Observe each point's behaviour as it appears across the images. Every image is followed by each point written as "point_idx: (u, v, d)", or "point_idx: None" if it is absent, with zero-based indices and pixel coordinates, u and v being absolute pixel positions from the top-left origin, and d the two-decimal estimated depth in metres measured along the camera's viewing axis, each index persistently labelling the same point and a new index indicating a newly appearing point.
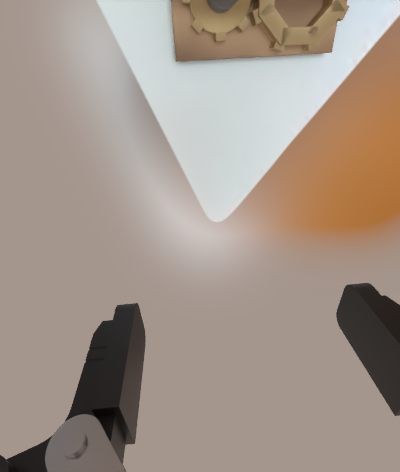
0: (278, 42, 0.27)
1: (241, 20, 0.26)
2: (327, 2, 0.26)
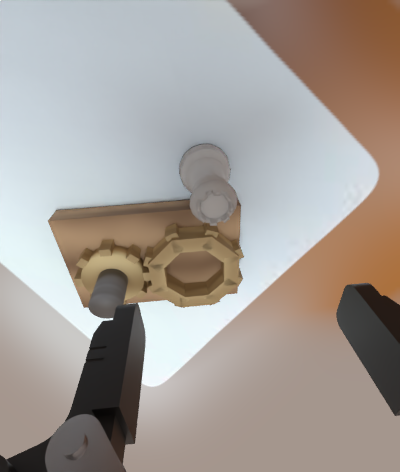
0: None
1: (138, 293, 0.27)
2: (222, 272, 0.27)
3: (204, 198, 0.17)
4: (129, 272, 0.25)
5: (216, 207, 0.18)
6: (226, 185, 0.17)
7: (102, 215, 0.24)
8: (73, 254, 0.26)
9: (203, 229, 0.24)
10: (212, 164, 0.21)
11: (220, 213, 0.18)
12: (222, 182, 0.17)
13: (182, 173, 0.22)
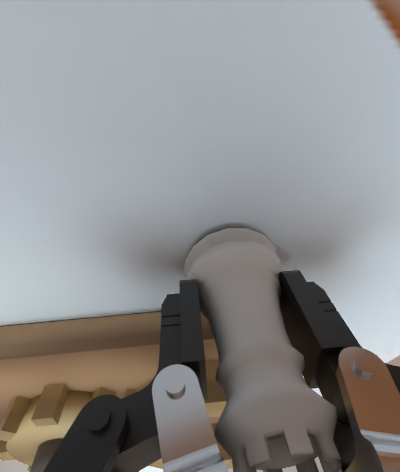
0: None
1: None
2: None
3: (262, 464, 0.06)
4: None
5: (288, 458, 0.07)
6: (318, 407, 0.06)
7: (40, 350, 0.13)
8: None
9: None
10: (256, 288, 0.10)
11: (295, 464, 0.07)
12: (308, 400, 0.06)
13: None
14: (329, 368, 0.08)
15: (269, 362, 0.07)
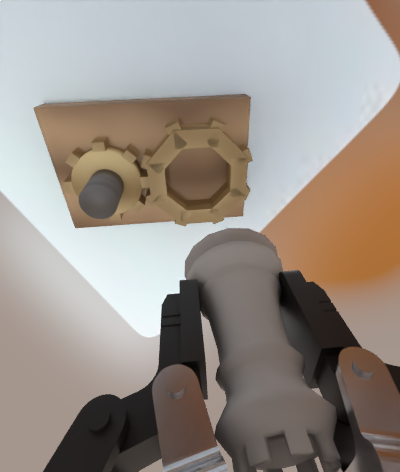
0: (178, 220, 0.25)
1: (134, 204, 0.24)
2: (228, 183, 0.25)
3: (263, 464, 0.06)
4: (125, 175, 0.23)
5: (288, 458, 0.07)
6: (318, 407, 0.06)
7: (95, 104, 0.21)
8: (63, 155, 0.23)
9: (208, 124, 0.22)
10: (256, 288, 0.10)
11: (294, 464, 0.07)
12: (308, 400, 0.06)
13: None
14: (329, 368, 0.08)
15: (269, 362, 0.07)
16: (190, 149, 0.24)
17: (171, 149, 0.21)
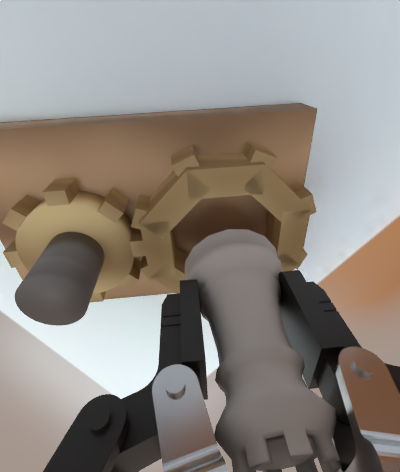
0: None
1: (123, 279, 0.15)
2: None
3: (262, 465, 0.06)
4: (106, 240, 0.14)
5: (287, 459, 0.07)
6: (318, 408, 0.06)
7: (51, 125, 0.12)
8: (4, 207, 0.14)
9: (245, 156, 0.13)
10: (256, 289, 0.10)
11: (294, 465, 0.07)
12: (307, 402, 0.06)
13: None
14: (329, 368, 0.08)
15: (269, 363, 0.07)
16: None
17: (182, 200, 0.12)
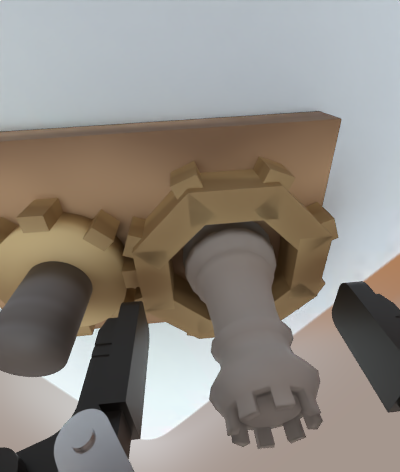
0: None
1: (114, 312, 0.13)
2: (283, 271, 0.14)
3: (251, 416, 0.07)
4: (93, 270, 0.12)
5: (275, 415, 0.07)
6: (301, 368, 0.07)
7: (27, 138, 0.10)
8: None
9: (256, 174, 0.11)
10: (249, 270, 0.10)
11: (281, 423, 0.08)
12: (292, 362, 0.07)
13: (188, 272, 0.12)
14: None
15: (259, 333, 0.08)
16: None
17: (182, 226, 0.10)
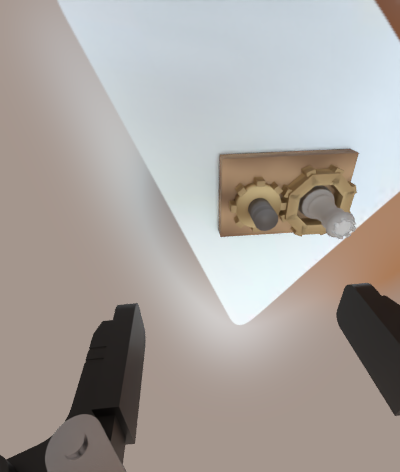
0: None
1: None
2: None
3: (340, 223, 0.29)
4: (272, 202, 0.34)
5: (344, 228, 0.30)
6: (351, 215, 0.29)
7: (259, 156, 0.33)
8: (229, 188, 0.34)
9: (330, 169, 0.33)
10: (329, 200, 0.33)
11: (345, 231, 0.30)
12: (349, 213, 0.29)
13: (304, 203, 0.34)
14: None
15: (338, 211, 0.30)
16: None
17: (308, 186, 0.33)
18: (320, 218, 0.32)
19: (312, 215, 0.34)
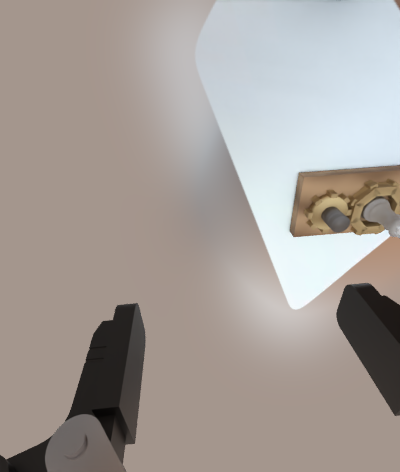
0: (358, 232, 0.46)
1: None
2: None
3: None
4: (341, 209, 0.43)
5: None
6: None
7: (332, 174, 0.42)
8: (306, 199, 0.43)
9: (388, 183, 0.42)
10: (388, 207, 0.42)
11: None
12: None
13: (366, 210, 0.43)
14: None
15: (397, 216, 0.39)
16: None
17: (371, 196, 0.42)
18: (382, 222, 0.41)
19: (373, 219, 0.43)
